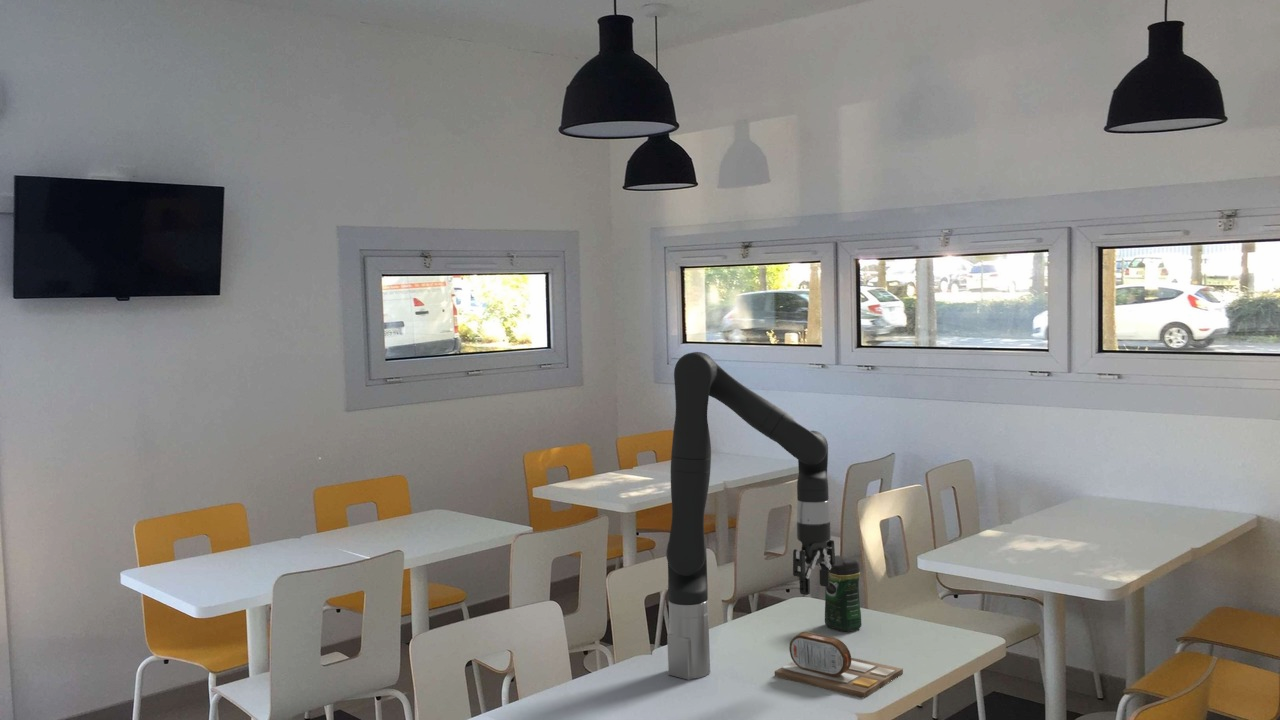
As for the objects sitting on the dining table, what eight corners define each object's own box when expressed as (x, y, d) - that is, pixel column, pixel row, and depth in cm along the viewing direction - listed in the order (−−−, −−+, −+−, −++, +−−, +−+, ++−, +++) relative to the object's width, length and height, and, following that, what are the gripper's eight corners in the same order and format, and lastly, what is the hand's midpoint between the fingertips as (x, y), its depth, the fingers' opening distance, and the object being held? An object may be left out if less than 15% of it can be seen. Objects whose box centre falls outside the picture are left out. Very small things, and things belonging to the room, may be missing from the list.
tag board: (864, 698, 221) (864, 690, 221) (774, 676, 236) (774, 669, 236) (902, 673, 234) (902, 667, 234) (815, 654, 249) (815, 648, 249)
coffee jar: (867, 629, 268) (865, 558, 267) (842, 634, 264) (840, 563, 263) (843, 619, 276) (841, 551, 275) (819, 624, 273) (817, 555, 272)
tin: (852, 676, 229) (851, 639, 229) (845, 680, 227) (844, 643, 227) (795, 663, 239) (794, 628, 239) (787, 667, 237) (786, 631, 237)
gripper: (810, 527, 225) (812, 599, 226) (843, 516, 235) (845, 585, 236) (782, 523, 230) (783, 594, 230) (815, 512, 240) (817, 580, 241)
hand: (815, 589), depth 233 cm, fingers open, 8 cm apart
